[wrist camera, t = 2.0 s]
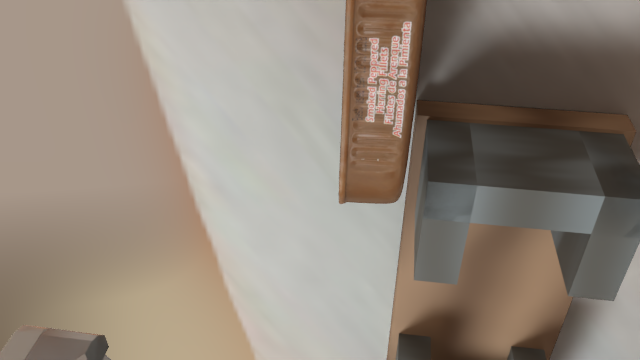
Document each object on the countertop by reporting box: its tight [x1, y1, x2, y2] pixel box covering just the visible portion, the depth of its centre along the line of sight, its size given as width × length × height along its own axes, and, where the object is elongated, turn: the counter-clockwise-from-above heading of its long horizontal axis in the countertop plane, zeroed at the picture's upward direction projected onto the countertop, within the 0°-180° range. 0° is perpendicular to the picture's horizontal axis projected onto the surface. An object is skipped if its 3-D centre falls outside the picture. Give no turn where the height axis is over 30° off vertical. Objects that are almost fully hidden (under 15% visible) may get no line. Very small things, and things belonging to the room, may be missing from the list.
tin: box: [339, 0, 427, 204], centre depth 23 cm, size 15×3×8 cm, turn 179°
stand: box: [387, 100, 640, 360], centre depth 33 cm, size 10×22×6 cm, turn 179°
